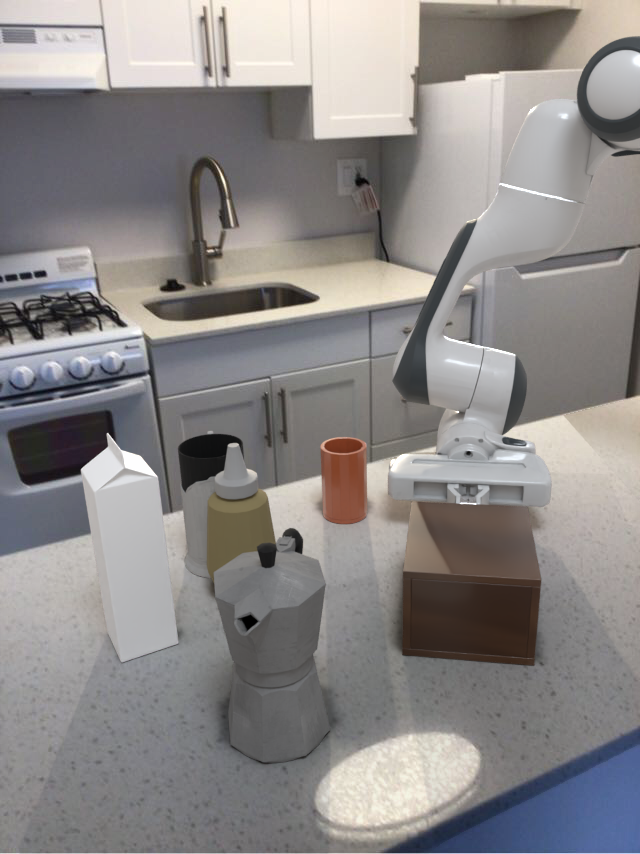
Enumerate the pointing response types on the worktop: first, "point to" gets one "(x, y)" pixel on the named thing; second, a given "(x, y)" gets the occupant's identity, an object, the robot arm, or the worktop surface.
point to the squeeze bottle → (236, 513)
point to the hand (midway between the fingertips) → (467, 509)
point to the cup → (344, 479)
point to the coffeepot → (273, 649)
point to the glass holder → (200, 490)
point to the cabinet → (470, 583)
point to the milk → (130, 552)
